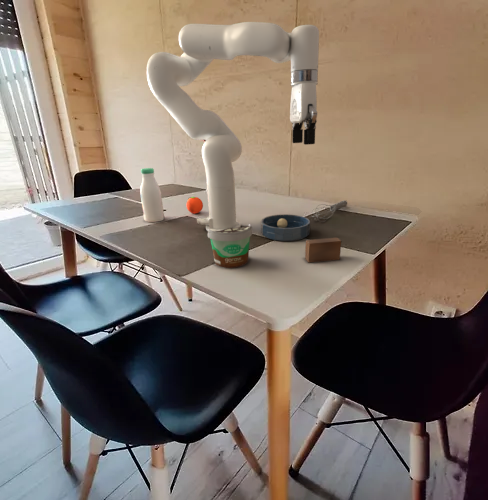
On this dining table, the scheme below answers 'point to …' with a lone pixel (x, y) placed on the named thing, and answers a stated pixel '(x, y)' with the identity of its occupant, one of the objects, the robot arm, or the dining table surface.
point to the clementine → (194, 205)
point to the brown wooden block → (322, 249)
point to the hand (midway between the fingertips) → (303, 143)
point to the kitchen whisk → (332, 208)
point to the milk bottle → (151, 197)
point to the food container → (230, 246)
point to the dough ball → (282, 223)
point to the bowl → (294, 230)
